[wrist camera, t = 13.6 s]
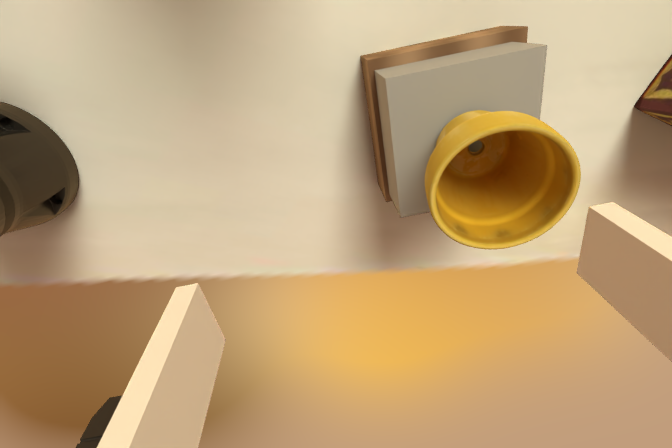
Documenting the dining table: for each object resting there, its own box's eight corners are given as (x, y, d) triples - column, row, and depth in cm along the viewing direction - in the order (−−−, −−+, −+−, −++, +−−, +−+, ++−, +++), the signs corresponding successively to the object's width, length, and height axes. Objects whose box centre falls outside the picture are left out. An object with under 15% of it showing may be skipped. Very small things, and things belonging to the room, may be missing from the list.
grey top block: (389, 194, 43) (400, 217, 38) (374, 70, 36) (385, 78, 31) (505, 171, 43) (532, 191, 38) (512, 41, 36) (547, 45, 31)
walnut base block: (377, 182, 49) (386, 201, 44) (360, 55, 41) (367, 60, 36) (494, 159, 48) (517, 175, 43) (499, 26, 41) (527, 26, 35)
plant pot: (520, 65, 30) (574, 97, 22) (540, 170, 35) (589, 228, 27) (401, 115, 33) (409, 159, 25) (434, 204, 38) (450, 265, 30)
